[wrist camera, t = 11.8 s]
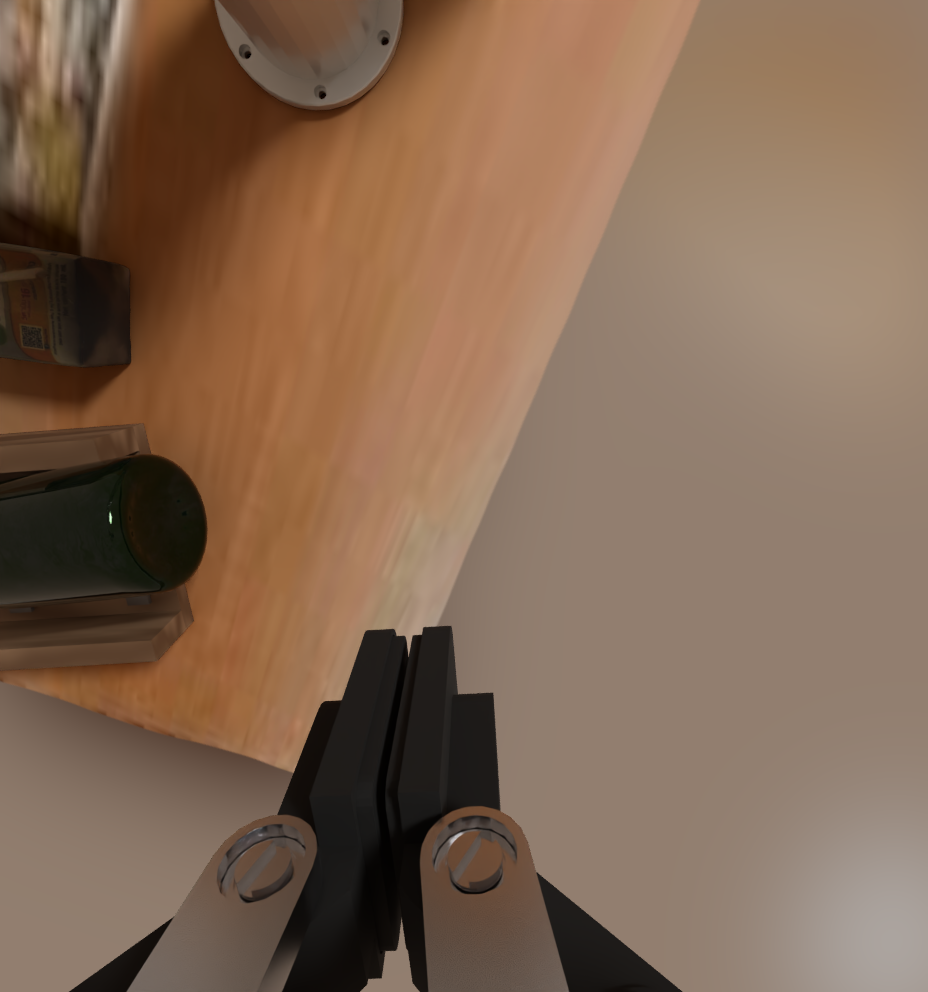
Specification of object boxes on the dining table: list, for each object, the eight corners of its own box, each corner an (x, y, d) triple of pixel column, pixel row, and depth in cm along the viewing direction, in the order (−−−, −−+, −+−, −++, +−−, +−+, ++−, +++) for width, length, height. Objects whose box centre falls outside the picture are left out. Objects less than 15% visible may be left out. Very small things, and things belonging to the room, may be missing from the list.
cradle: (-62, 439, 48) (-141, 457, 41) (143, 423, 47) (93, 439, 41) (11, 632, 53) (-50, 673, 47) (193, 620, 53) (157, 661, 47)
